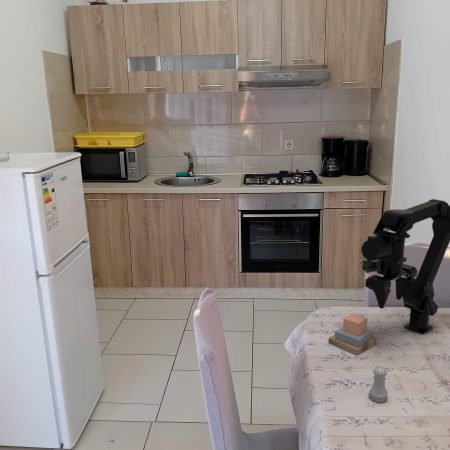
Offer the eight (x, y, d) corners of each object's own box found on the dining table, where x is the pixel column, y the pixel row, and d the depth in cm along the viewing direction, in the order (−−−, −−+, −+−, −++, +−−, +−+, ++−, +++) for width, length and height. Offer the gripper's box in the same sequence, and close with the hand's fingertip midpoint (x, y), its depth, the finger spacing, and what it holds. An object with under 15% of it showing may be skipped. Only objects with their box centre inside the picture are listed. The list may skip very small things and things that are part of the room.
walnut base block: (348, 334, 148) (348, 327, 147) (376, 346, 140) (376, 338, 140) (328, 345, 141) (328, 337, 141) (356, 358, 134) (357, 350, 133)
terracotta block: (351, 325, 143) (352, 313, 142) (366, 330, 140) (367, 317, 139) (342, 330, 139) (343, 318, 138) (358, 336, 136) (358, 323, 135)
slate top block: (348, 329, 145) (348, 322, 145) (372, 338, 140) (372, 330, 139) (334, 338, 140) (334, 331, 139) (358, 348, 134) (359, 340, 134)
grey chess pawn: (388, 404, 112) (391, 374, 110) (369, 402, 113) (371, 372, 111) (386, 393, 116) (388, 364, 114) (367, 391, 117) (369, 362, 115)
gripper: (386, 241, 147) (383, 288, 151) (350, 254, 136) (348, 304, 140) (420, 249, 139) (415, 298, 143) (384, 264, 127) (381, 316, 131)
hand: (389, 303), depth 139 cm, fingers open, 9 cm apart
